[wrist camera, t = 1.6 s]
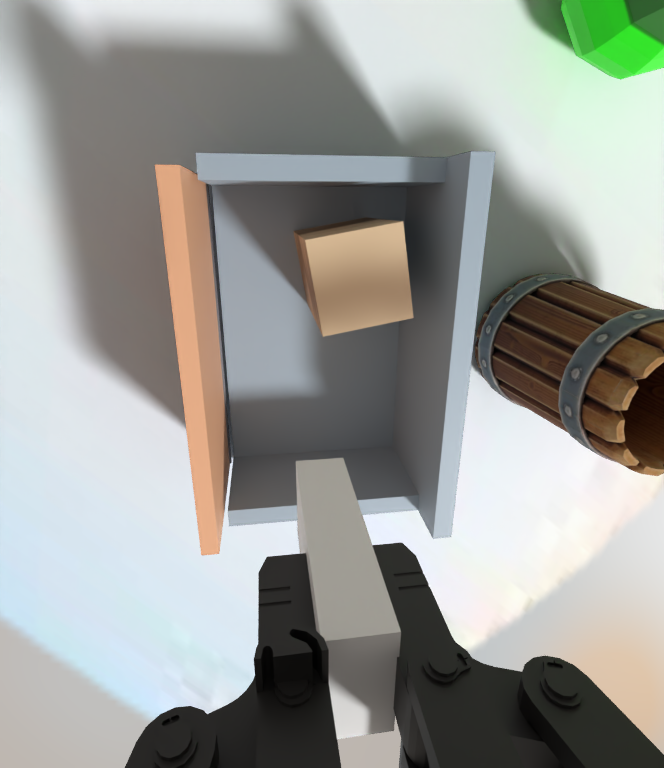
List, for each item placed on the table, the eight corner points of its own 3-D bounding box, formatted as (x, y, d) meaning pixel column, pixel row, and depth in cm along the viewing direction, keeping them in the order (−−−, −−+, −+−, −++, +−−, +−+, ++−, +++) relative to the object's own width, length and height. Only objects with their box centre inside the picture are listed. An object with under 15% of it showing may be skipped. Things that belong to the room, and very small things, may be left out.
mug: (452, 383, 39) (559, 482, 25) (499, 256, 35) (652, 288, 22) (608, 416, 42) (778, 519, 28) (663, 303, 39) (886, 357, 25)
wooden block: (293, 231, 31) (305, 240, 23) (365, 217, 32) (403, 221, 23) (307, 303, 33) (322, 336, 25) (375, 290, 34) (413, 317, 25)
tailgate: (189, 178, 30) (152, 164, 20) (208, 178, 30) (181, 164, 20) (216, 458, 37) (199, 555, 27) (231, 457, 37) (220, 553, 27)
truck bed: (212, 166, 31) (186, 145, 20) (418, 169, 32) (495, 151, 22) (235, 460, 38) (226, 558, 28) (400, 449, 40) (451, 537, 30)
